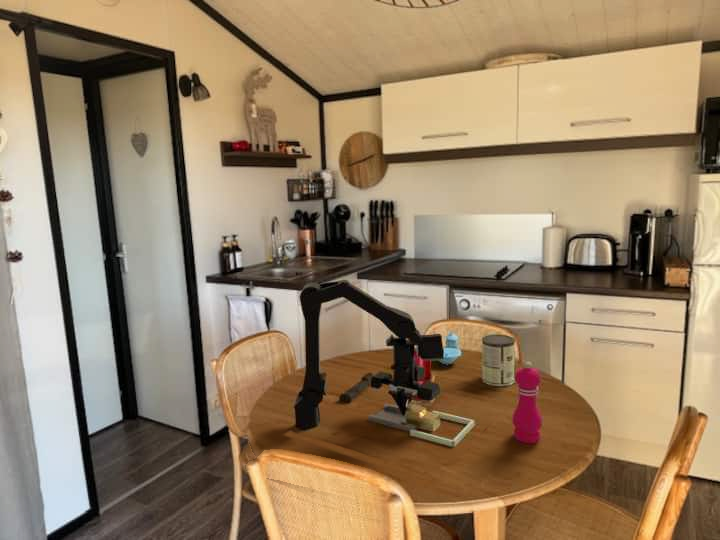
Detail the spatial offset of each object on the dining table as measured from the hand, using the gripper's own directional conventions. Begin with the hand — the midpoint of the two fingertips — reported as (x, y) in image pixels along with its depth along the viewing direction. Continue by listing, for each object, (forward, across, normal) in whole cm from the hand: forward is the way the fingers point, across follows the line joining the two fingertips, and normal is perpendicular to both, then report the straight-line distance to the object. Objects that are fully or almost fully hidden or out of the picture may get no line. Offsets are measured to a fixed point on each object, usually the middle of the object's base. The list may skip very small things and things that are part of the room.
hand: (404, 415), depth 140 cm
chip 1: (+1, -4, 0) cm, 4 cm away
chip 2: (+2, -8, 0) cm, 8 cm away
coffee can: (+3, -12, -42) cm, 44 cm away
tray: (+2, -11, 0) cm, 12 cm away
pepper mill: (+2, -30, -9) cm, 32 cm away
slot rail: (+3, +2, 0) cm, 3 cm away
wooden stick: (+3, +23, -11) cm, 25 cm away
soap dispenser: (+3, +10, -52) cm, 53 cm away
